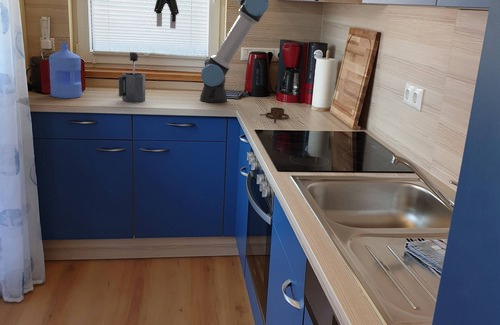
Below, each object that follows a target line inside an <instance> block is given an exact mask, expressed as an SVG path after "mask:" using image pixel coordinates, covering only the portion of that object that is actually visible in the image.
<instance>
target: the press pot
mask: <svg viewBox="0 0 500 325" xmlns="http://www.w3.org/2000/svg"><path fill="white" fill-rule="evenodd" d="M118 96H119V97H121V98H122V102H125V103H131V104H132V103H133V104H139V103H144V102H146V74H144V73H139V72H135V76H133V72H124V73H122V74H121V76H118Z"/></svg>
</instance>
